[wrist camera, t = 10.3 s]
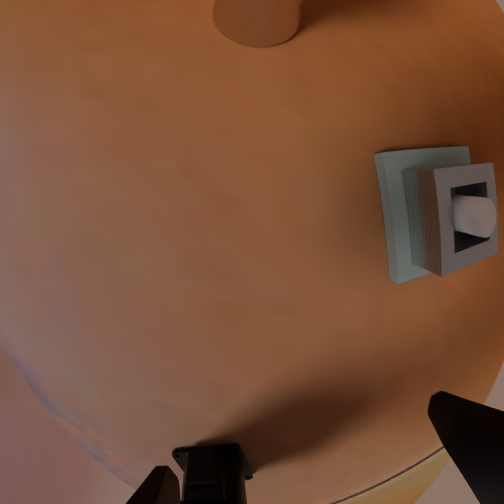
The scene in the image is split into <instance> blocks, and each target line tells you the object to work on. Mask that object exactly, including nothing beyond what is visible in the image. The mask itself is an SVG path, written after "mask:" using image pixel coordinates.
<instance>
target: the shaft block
mask: <svg viewBox="0 0 504 504" xmlns="http://www.w3.org/2000/svg"><path fill="white" fill-rule="evenodd" d="M373 155H374V160H375V165H376V171H377V176H378V182H379V188H380V194H381V201H382V208H383V215H384V223H385V232H386V242H387V252H388V265H389V279H390V280H391V281H393V282H395V283H396V284H400V283H403V282H406V281H409V280H412V279H415V278H418V277H421V276H423V275H426V274H429V273H432V272H430V271H427V270H425V269H423V268H421V267H419V266H416V265H414V264H412V263H411V251H410V238H409V227H408V217H407V209H406V201H405V194H404V187H403V181H402V175H401V171H404V170H411V169H418V168H426V167H434V166H442V165H451V164H459V163H471V159H470V153H469V148H468V146H457V147H439V148H425V149H412V150H401V151H392V152H382V153H377V154H373ZM450 192H451V202H452V213H453V227H454V233H457V232H459V231H460V232H464V233H468V234H472V235H476V236H480V237H484V238H486V237H489V236H490V235H491V234H492V232H493V230H494V228H495V225H496V208H495V205H494V203H493V202H492V200H491V199H489V198H483V197H474V196H464V195H456V192H455V187H453V188H450Z"/></svg>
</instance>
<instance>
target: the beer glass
mask: <svg viewBox="0 0 504 504" xmlns="http://www.w3.org/2000/svg"><path fill="white" fill-rule="evenodd" d="M304 3H305V0H215V3H214V7H213V20H214V23H215V25H216V27H217V28H218V30H219V31H220V32H221V33H222V34H223V35H224V36H226V37H227V38H229V39H230V40H232V41H234V42H237V43H239V44H243V45H247V46H253V47H268V46H274V45H278V44H281V43H283V42H285V41H287V40H289V39H290V38H291V37H292V36H294V35H295V34H296V32H297V31H298V29H299V27H300V25H301V20H302V13H303V6H304Z"/></svg>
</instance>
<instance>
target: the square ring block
mask: <svg viewBox="0 0 504 504" xmlns="http://www.w3.org/2000/svg"><path fill="white" fill-rule="evenodd" d="M401 175H402V181H403V187H404V194H405V201H406V209H407V217H408V227H409V238H410V251H411V263H412V264H414V265H416V266H419V267H421V268H423V269H425V270H427V271H430V272H432V273H434V274H436V275H438V276H440V277H443V276H446V275H448V274H450V273H453V272H455V271H458V270H460V269H463V268H465V267H467V266H470V265H472V264H474V263H476V262H479V261H481V260H483V259H485V258H488V257H490V256H492V255H494V254H496V253H498V209H497V194H496V183H495V175H494V167H493V163H459V164H451V165H442V166H434V167H426V168H418V169H411V170H404V171H401ZM453 187H455V192H456V195H464V196H474V197H483V198H489V199H491V200H492V202H493V203H494V205H495V208H496V225H495V228H494V230H493V232H492V234H491V235H490V236H489V237H486V238H484V237H480V236H476V235H472V234H468V233H464V232H460V231H459V232H457V233H454V227H453V213H452V202H451V192H450V188H453Z"/></svg>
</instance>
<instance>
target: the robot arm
mask: <svg viewBox="0 0 504 504" xmlns="http://www.w3.org/2000/svg"><path fill="white" fill-rule="evenodd" d="M428 416H429V418H430V420H431V422H432V424H433V426H434V428H435V430H436V432H437V434H438V436H439V438H440V440H441V442H442V444H443V446H444V447H445V449H446V451H447V452H448V454H449V455H450V457H451V458H452V460H453V461H454V463H455V464H456V466H457V467H458V469H459V470H460V472H461V474H462V475H463V477H464V478H465V480H466V481H467V483H468V485H469V486H470V488H471V489H472V491H473V493H474V494H475V496H476V498H477V499H478V501H479V502H480V504H504V411H501V410H498V409H495V408H491V407H488V406H485V405H482V404H479V403H476V402H473V401H470V400H467V399H464V398H461V397H458V396H455V395H453V394H450V393H447V392H444V391H439V392H437V393H435V394H433V395H432V396H431V398H430V402H429V406H428ZM172 456H173V458H174V459H175V461H176V462H177V464H178V465H179V466H180V468H181V469H182V470H183V472H184V476H183V486H182V498H181V501H180V489H179V480H178V478H177V476H176V475H175V474H174V472H173V471H172V470H171V469H170V467H169V466H156V467H155V468H154V469H153V470H152V472H151V473H150V474H149V475H148V477H147V478H146V479H145V480H144V482H143V483H142V484H141V485H140V487H139V488H138V489H137V490H136V492H135V493H134V494H133V496H132V497H131V498H130V499H129V500H128V501H127V503H126V504H247V499H246V489H245V480H249V479H252V478H253V474H252V472H251V470H250V468H249V466H248V463H247V461H246V459H245V457H244V455H243V452H242V450H241V448H240V446H239V445H238V444H227V445H220V446H212V447H203V448H193V449H180V450H173V451H172Z"/></svg>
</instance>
